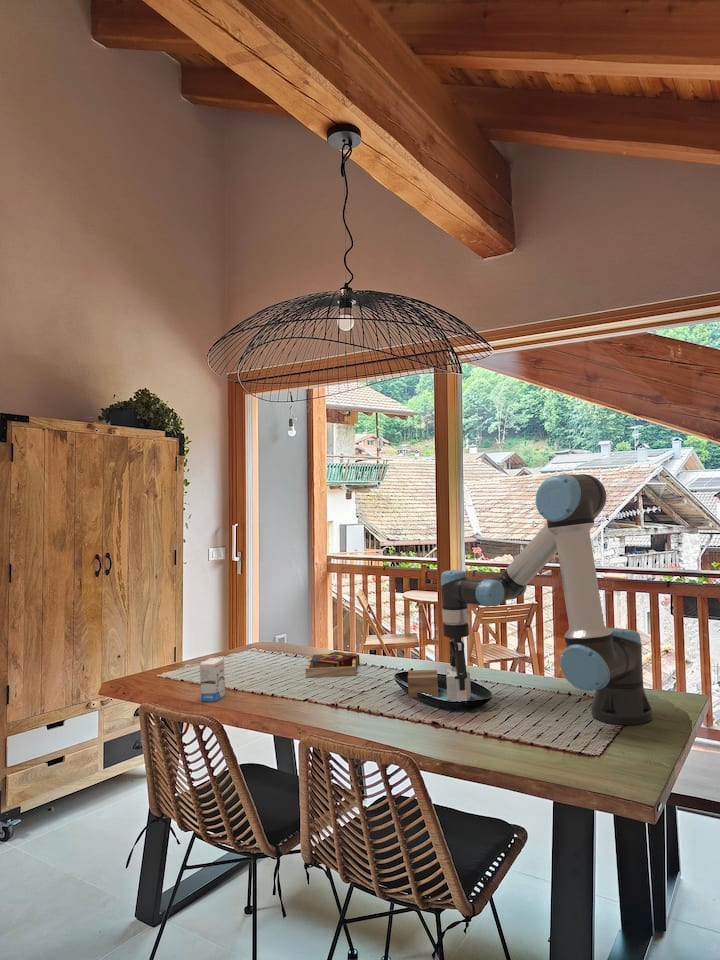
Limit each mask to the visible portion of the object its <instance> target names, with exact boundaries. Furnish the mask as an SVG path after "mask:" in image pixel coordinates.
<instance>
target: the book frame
mask: <svg viewBox="0 0 720 960" xmlns="http://www.w3.org/2000/svg"><path fill="white" fill-rule="evenodd" d="M348 653H349V654H357V652H348ZM328 654H329V653H320V654H319V653H317V654H310V656H309V658H308V661H307V664H306V667H305V678H306V679H307V678H314V679H315V678H329V677H330V678H331V677H332V678H333V677H353V676H354V677H355V676H356V671H357V666H356V658H355V659H353V662H352V666H348V667H325V668H313V662H310V660H312V659H315V658H320V657H322V655H328Z"/></svg>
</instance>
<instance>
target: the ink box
mask: <svg viewBox="0 0 720 960" xmlns="http://www.w3.org/2000/svg"><path fill="white" fill-rule="evenodd" d="M199 678H200V679H199V682H200V699H201V702H205V703H206V702H208V703H209V702H210V703H211V702H213V703H214V702H215V703H216V702H218V700H220V699H221V698H223V697H224V696H225V695H226V682H225V679H226V678H225V659H224V658H222V657H219V658H218V657H210V658H208V659H206V660H204V661H201V662H200V664H199Z"/></svg>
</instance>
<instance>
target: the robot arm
mask: <svg viewBox="0 0 720 960" xmlns="http://www.w3.org/2000/svg"><path fill="white" fill-rule="evenodd" d="M607 498H608V497H607V491H606V488H605V486H604V484H603V483H602V482H601V481H600V480H599V479H598V478H596V477H595V476H593V475H590V474H583V473H579V474H570V473H569V474H567V473H566V474H565V473H563V474H561V473H560V474H558V475H557V474H556V475H553V476H549V477H548V478H546V479H544V480H543V482H541V484H540V486H539V487H538V488H537V491H536V493H535V506H536V510H537V512H538V514H539V515H540V516H542V518H543V519H545V520H546V524H545V525H544V526H542V527H543V528H541V529H540V531H539V532H538V533H537V534H536V535H535V536H534V537H533V538H532V539H531V541H530V542H528V544H527V545H526V546H525V547H524V548H523V549H522V551H520V553H518V555H517V556H516V557H515V558H514V559H513V561H511V563H510V564H508V566H507V567H506V568H505V569H504V570H503V572H501V573H500V574H499V575H495V576H489V577H485V578H470V577H469V578H468V576H467V573H466V571H465V570H461V569H451V570H445V571H443V572H442V573H441V575H440V577H441V578H440V589H441V591H440V592H441V600H442V601H441V603H442V604H441V605H442V606H441V607H442V608H441V609H442V612H441V613H442V622H443V626H442V630H443V631H442V632H443V636H444V637H445V638H449V665H450V670H451V672H457V676H455V679H456V680H457V701H458V702H459V703H460V702H461V701H467V686H466V678H467V672H468V671H467V664H466V655H465V654H466V653H465V642H464V641H463V640H462V639H463V638H466V637H468V636H469V635H470V628H469V623H468V622H469V615H470V614H471V612H470V610H469V608H468V605H471V606H472V605H474V606H481V607H482V606H483V607H487V608H489V607H497V606H500V604H501V603H503V601H508V600H515V599H518V598H520V597H522V596H523V595H524V594H525V593H526V590H527V587H528V586H527V585H528V584H529V583H530V582H532V580H533V579H534V578H535V577H536V575H538V574H539V573H540V571H541V570H543V568H544V567H545V566H546V565H547V564H548V563H549V562H550V561H551V560H552V558H554V557H555V556H556V555H558V556H557V557H558V563H559V564H558V565H559V570H560V576H561V582H562V589H563V596H564V601H565V602H564V603H565V608H566V614H567V615H566V616H567V621H568V629H567V631H566V632H565V633H564V641H565V642H564V643H565V649H564V650H563V652H562V653H561V655H560V660H559V663H560V664H559V666H560V669H561V672H562V675H563V676H564V678H565V679H566V680H567V682H568V683H570V684H571V685H572V686H573V687H575V688H577V689H579V690H580V691H581V690H582V691H585V692H592V691H593V692H594V694H593V699H592V702H591V704H590V705H591V706H590V709H591V710H590V711H591V714H590V715H591V716H592V718H594V719H596V720H598V721H601V722H604V723H608V724H612V725H621V726H622V725H623V726H633V725H642V724H643V725H644V724H647V723H649V722H651V721H652V720H653V710H652V707H651V704H650V701H649V698H648V696H647V693H646V691H645V688H644V673H643V654H642V653H643V652H642V651H643V649H642V648H643V647H642V646H643V644H642V641H641V634H640V633H639V632H638V631H637V630H634V629H627V628H618V627H608V626H606V625H605V620H604V615H603V609H602V608H603V607H602V602H601V595H600V590H599V582H598V575H597V571H596V564H595V558H594V550H593V544H592V538H591V529H592V528H593V526H595V519H596V518H597V517H598V516H599V515H600V514H601V512H602V511H603V510H604V509H605V506H606V503H607ZM461 673H463V674H461ZM461 703H462V702H461Z"/></svg>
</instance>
